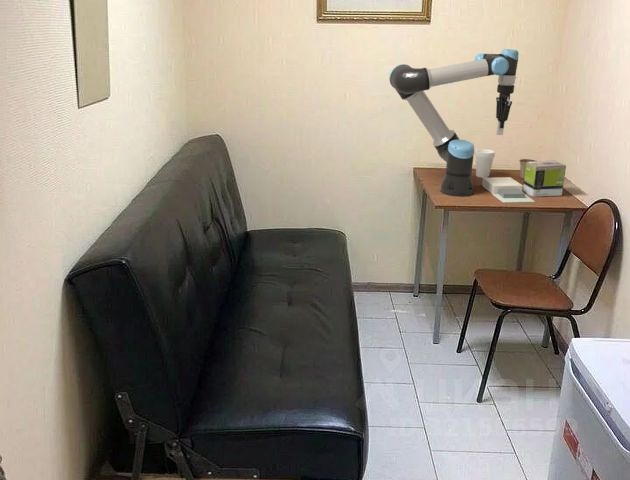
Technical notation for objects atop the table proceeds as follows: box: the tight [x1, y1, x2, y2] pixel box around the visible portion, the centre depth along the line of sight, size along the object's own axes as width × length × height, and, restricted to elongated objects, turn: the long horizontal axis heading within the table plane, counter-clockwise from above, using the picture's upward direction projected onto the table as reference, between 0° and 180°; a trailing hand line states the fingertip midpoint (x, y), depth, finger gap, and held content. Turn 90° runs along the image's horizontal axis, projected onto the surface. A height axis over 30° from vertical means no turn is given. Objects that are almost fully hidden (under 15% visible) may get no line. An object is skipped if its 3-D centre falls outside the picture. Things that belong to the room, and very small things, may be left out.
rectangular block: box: [498, 189, 526, 198], centre depth 292 cm, size 10×7×2 cm
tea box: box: [522, 160, 567, 198], centre depth 296 cm, size 15×10×15 cm, turn 100°
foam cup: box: [474, 148, 496, 179], centre depth 323 cm, size 10×9×13 cm
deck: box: [481, 176, 524, 195], centre depth 302 cm, size 14×14×4 cm
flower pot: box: [519, 158, 537, 180], centre depth 323 cm, size 9×9×9 cm
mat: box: [492, 194, 536, 204], centre depth 290 cm, size 15×12×1 cm
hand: (499, 134), depth 303 cm, fingers closed
